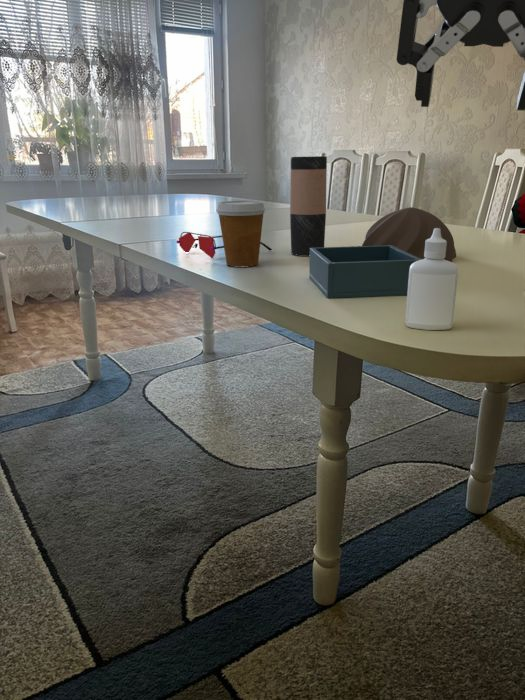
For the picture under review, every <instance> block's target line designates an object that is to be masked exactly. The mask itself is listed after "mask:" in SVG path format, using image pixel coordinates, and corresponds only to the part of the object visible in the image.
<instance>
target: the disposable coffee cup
mask: <svg viewBox="0 0 525 700" xmlns="http://www.w3.org/2000/svg"><path fill="white" fill-rule="evenodd" d="M266 209H267V208H266V207H265V203H264V201H261V200H225V201H219V202H218V203H217V208H216V209H215V211H216V212H217V215H218V218H219V219H218V220H219V225H220V231H221V236H222V237H221V238H222V244H223V245H222V246H224V248H223V249H224V255H225V257H224V258H225V263H226V266H228V265H230V266H229V267H231V266H252V267H254V266H253V265H256V266H258V265H259V258H260V250H261V244H260V242H262V241H261V239H262V230H263V220H264V214H265V211H266ZM257 264H258V265H257Z"/></svg>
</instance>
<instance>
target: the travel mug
mask: <svg viewBox="0 0 525 700" xmlns="http://www.w3.org/2000/svg"><path fill="white" fill-rule="evenodd" d="M327 164H328V157H327V156H326V155H324V156H323V155H321V156H319V155H318V156H292V157H290V179H289V180H290V182H289V183H290V185H289V186H290V187H289V188H290V190H289V199H290V200H289V213H290V214H289V220H290V221H289V223H290V224H289V225H290V252H291V253H290V254H292V253H293V254H297V255H310V248H320V247H325V239H326V222H327V221H326V219H327V175H328V174H327V172H328V171H327V170H328V169H327V167H328V165H327ZM293 254H292V255H293Z"/></svg>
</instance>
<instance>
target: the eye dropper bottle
mask: <svg viewBox="0 0 525 700" xmlns="http://www.w3.org/2000/svg"><path fill="white" fill-rule="evenodd" d="M446 245H447V241H446V240H444V239H443V238H442V237H441V231H440V229H439V228H434V231H433V234H432V237H431V238H430V239H427V240H426V241H425V251H424V257H426V258H424V259H422V260H419V261H416V262H414V263H412V264H411V266H410V269H409V279H408V291H407V295H406V304H405V305H406V306H405V316H404V317H405V319H404V320H405V321H404V322H405V325H406V326H407V327H408V328H411V329H416V330H422V331H423V330H424V331H445V330H447V331H448V330H451V328H452V327H453V324H454V323H453V322H454V313H455V307H456V306H455V305H456V295H457V287H458V278H459V277H458V276H459V269H458V266H457V265H456V264H455V263H454V262H453V261H452V262H450V261H447V260H445V259H444V258H445V255H446Z"/></svg>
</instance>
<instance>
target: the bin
mask: <svg viewBox="0 0 525 700" xmlns="http://www.w3.org/2000/svg"><path fill="white" fill-rule="evenodd" d="M419 260H422V259H420V258H418V257H416V256H414V255H412V254H410V253H407V252H405V251H403V250H401V249H399V248H397V247H395V246H392V245H382V246H362V245H357V246H355V245H354V246H324V247H320V248H310V256H309V274H308V277H309V280H311V281H312V283H313V284H314V285H315V286H316V287H317V288H318V290H319V291H320V292H321V293H322V294H323V295H324V296H325V297H326V299H343V298H344V299H345V298H347V299H349V298H369V297H372V298H373V297H395V296H407V291H408V279H409V269H410V266H411V264H412V263H414V262H416V261H419Z"/></svg>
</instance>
